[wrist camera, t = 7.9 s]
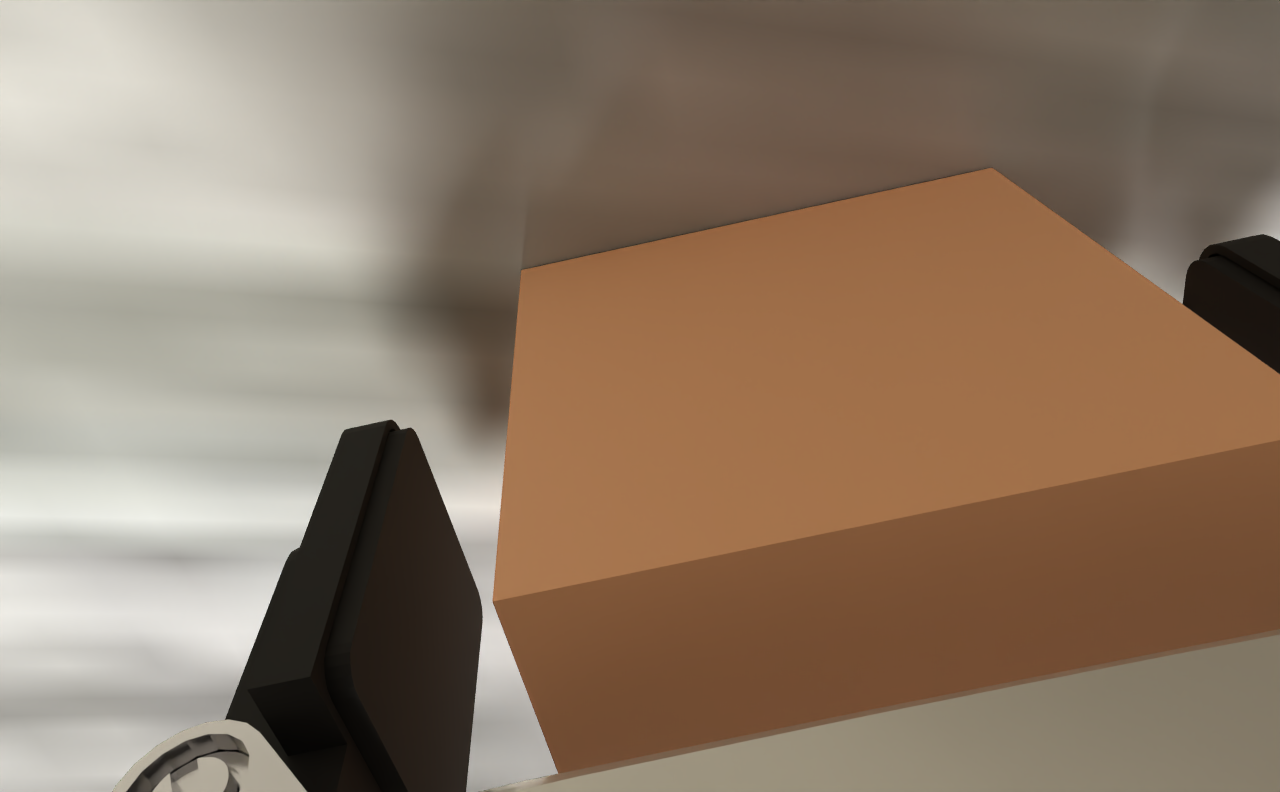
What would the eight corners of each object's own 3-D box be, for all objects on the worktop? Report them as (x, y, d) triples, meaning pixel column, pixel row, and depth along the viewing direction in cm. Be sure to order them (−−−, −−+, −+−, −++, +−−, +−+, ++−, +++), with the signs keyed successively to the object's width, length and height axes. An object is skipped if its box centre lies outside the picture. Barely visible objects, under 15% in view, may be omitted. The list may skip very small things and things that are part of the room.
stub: (996, 166, 11) (1370, 431, 6) (995, 455, 14) (1268, 829, 8) (518, 270, 12) (483, 612, 6) (594, 537, 14) (617, 952, 9)
